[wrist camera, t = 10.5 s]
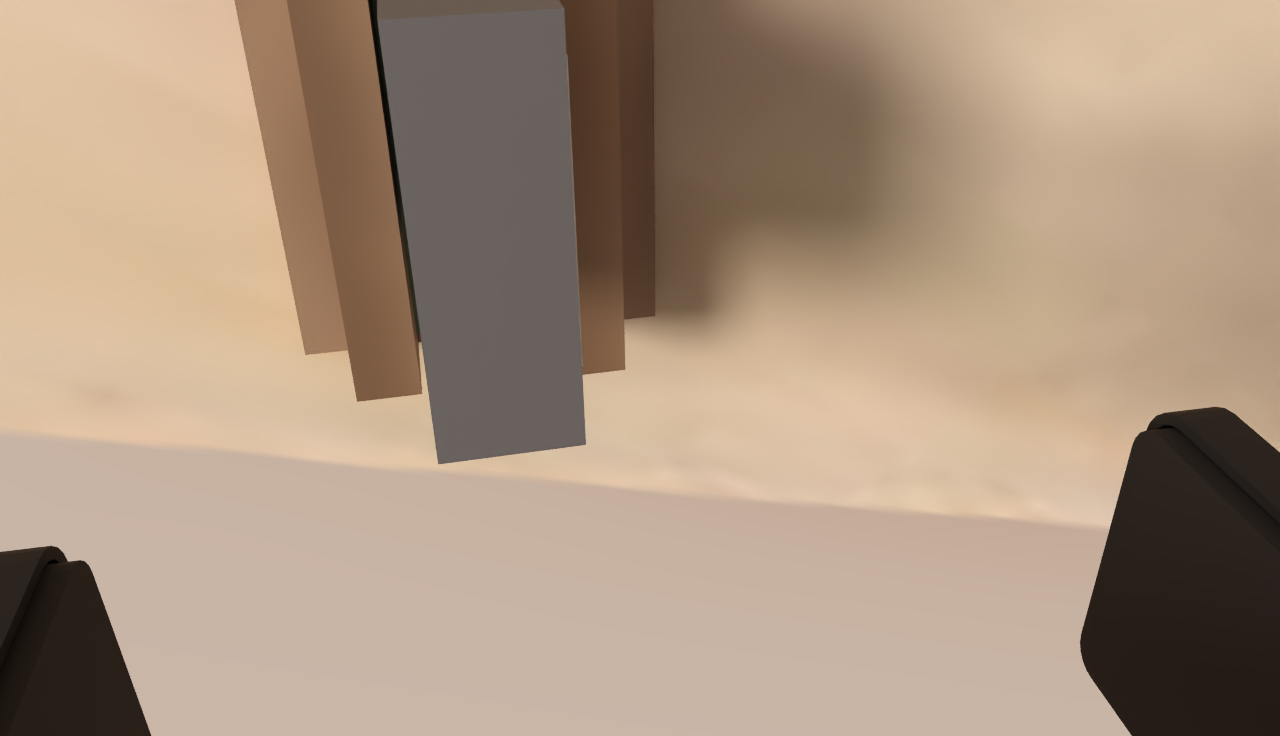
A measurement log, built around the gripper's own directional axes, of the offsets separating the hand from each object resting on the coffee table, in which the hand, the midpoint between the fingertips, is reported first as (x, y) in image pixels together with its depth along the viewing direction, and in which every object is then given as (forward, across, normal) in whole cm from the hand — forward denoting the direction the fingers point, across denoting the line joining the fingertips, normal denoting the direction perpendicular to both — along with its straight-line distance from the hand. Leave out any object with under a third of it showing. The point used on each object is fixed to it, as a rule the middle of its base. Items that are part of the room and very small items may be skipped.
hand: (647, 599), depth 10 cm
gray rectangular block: (+17, +1, 0) cm, 17 cm away
